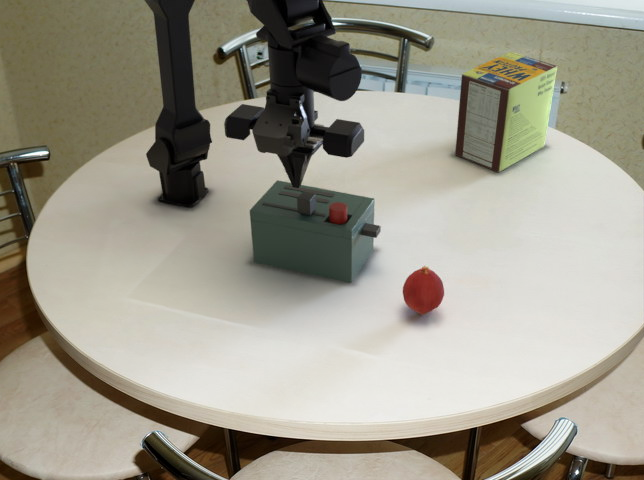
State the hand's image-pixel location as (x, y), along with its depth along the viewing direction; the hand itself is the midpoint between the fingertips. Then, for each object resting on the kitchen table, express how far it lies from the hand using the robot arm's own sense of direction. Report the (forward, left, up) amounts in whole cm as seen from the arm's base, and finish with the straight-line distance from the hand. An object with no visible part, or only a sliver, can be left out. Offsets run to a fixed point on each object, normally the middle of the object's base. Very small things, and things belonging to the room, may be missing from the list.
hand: (296, 186), depth 123 cm
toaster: (+2, +3, -13) cm, 13 cm away
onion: (+21, -6, -13) cm, 26 cm away
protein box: (+20, +49, -13) cm, 55 cm away
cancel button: (+6, 0, -4) cm, 8 cm away
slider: (+1, 0, -4) cm, 4 cm away
